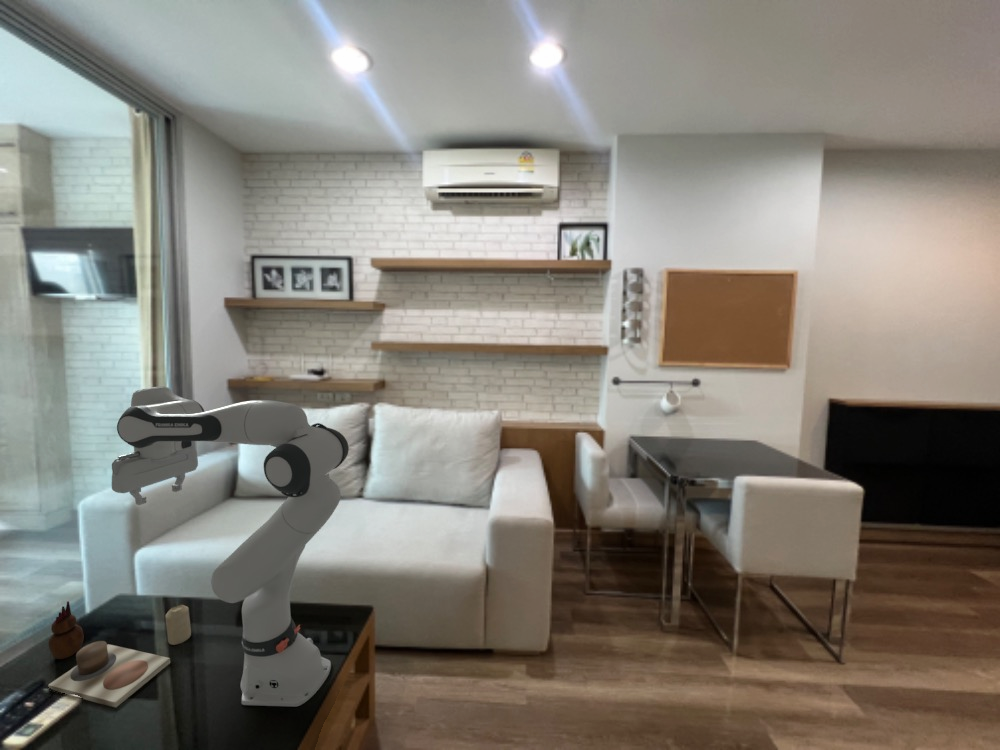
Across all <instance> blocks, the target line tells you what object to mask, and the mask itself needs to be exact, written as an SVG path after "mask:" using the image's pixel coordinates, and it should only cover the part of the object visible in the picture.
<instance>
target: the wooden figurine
mask: <svg viewBox="0 0 1000 750" xmlns="http://www.w3.org/2000/svg"><path fill="white" fill-rule="evenodd" d="M51 633H52V635H51V636H50V638H49V639H48V648H49V651H50V653H51V655H52V656H53V658H55V659H57V660H64V659H68V658H70V657H72V656H73V655H76V654H77V652H78V651H79V650H80V649H82V645H83V643H84V639H85V637H84V636H85V634H84V630H83V628H82V627H81V626H80V625H79V624H77V617H76V616H75V615H74V614H72V610H71V606H70V601H67V602H66V607H65V606H61V611H60V612H59V611H58V616H56V617H55V620H54V621H53V622H52V624H51Z"/></svg>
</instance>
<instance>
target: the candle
mask: <svg viewBox="0 0 1000 750" xmlns="http://www.w3.org/2000/svg"><path fill="white" fill-rule="evenodd" d="M164 617H165V626H166V634H167V641H168V644H169V645H171V646H173V645H174V646H175V645H180V644H182V643H184V642H185V641H187V640H188V639H190V637H191V636H192V630H191V618H190V609H189V606H188V605H187V606H186V605H184V604H179V605H177V606H173V607H171V608H170V609H169V610H168V611H167V613H165V616H164Z"/></svg>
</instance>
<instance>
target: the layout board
mask: <svg viewBox="0 0 1000 750" xmlns="http://www.w3.org/2000/svg"><path fill="white" fill-rule="evenodd" d="M75 657H76V658H75V660H76V665H75V666H73V667H72V668H71V669H70V670H68V671H67V672H65V673H63V674H62V675H61V676H59V677H57V678H56V679H54V680H53V681H52V682H50V683H49V684H47V688H48V687H49V688H51V689H53V690H55V691H58V692H61V693H60V694H62V693H65V694H64V695H66V694H75V695H78V696H80V697H82V698H83V699H82V700H86V701H89V702H93V703H96V704H100V705H105V706H108V707H112V708H118V706H120V705H121V704H122V703H123V702H125V701H126V700H128V698H130V697H131V696H132V695H133V694H135V693H136V692H137V691H138V690H139V689H141V688H142V687H143V686H144V685H145V684H147V683H148V682H149V681H150V680H152V679H153V678H154V677H155V676H157V675H158V674H159V673H160V672H161V671H162V670H163V669H165V668H166V667H167V666H168V665H170V664H171V658H170V657H167V656H162V655H157V654H154V653H149V652H144V651H140V650H136V649H132V648H127V647H123V646H118V645H114V644H109V643H108V644H107V642H106V641H105V640H98V641H94V642H91V643H89V644H86V645H85V646H83V647H81V648H80V650H79V651H77V652H76V653H75ZM49 688H48V689H49ZM55 691H54V692H55ZM58 692H57V693H58Z"/></svg>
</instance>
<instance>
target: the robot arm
mask: <svg viewBox="0 0 1000 750" xmlns="http://www.w3.org/2000/svg"><path fill="white" fill-rule="evenodd" d="M130 401H131V402H130V406H128V408H127V409H126V410H125V411H124V412H123V413H122V414H121V416H120V417H119V419H118V421H117V425H116V430H117V431H116V432H117V434H118V436H119V438H120V439H121V440H122V441H123V442H124V443H126V444H128V445H129V446H131V447H133V452H130V453H128V454H123V455H119V456H117V458H115V459H114V461H112V463H111V472H112V474H111V490H112V491H113V492H114V493H118V494H127V493H129V494H130V495H131V496H132V497H133V498H134V499H135V505H137V506H141V505H144V504H146V503H147V496H146V495H145V496H143V495H142V494H141V493H142V488H145V487H148V486H152V485H154V484H157V483H160V482H163V481H167V480H170V479H172V478H175V483H174V484H172V485H171V490H172V492H173V493H174V492H175V493H177V492H180V491H182V490H183V486H182V484H183V483H184V481H185V478H186V474H188V473H190V472H191V473H192V472H194V471H196V470H197V468H198V466H199V461H198V460H199V459H198V454H197V449H196V448H195V447H194V446H195V444H196V443H195V442H209V443H210V442H211V443H212V442H213V443H227V444H240V445H241V444H242V445H254V446H271V447H274V448H273V449H272V450H271V451H270V452H269V453H268V454H267V455H266V456H265V458H264V461H263V472H264V476H265V478H266V481H268V483H269V484H270V485H271V486H272V487H273V488H274V489H276V490H277V491H279V492H280V493H282V495H283V496H286V497H287V499H285V500H284V501H283V503H282V504H281V505H280V506H279V507H278V509H277V510H276V511H275V512H274V513H273V514H272V515H271V516H270V517H269V518H268V520H266V521H265V523H263V524H262V525H261V526H260V527H259V528H258V529H256V530H255V531H254V532H253V533H252V534H251V535H250V536H248V538H247V539H246V540H244V541H243V542H242V543H241V544H240V545H239V546H238V547H237V548H236V549H235V550H234V551H233V552H232V553H231V554H230V555H228V557H226V559H224V560H223V561H222V562H221V563H220V564H219V565H218V566H217V567H216V568H215V569H214V571H213V572H212V574H211V578H210V579H211V580H210V583H211V589H212V592H213V594H215V595H214V596H215V597H217V598H218V599H219V600H221V601H222V602H225V603H228V604H235V603H238V602H241V601H242V600H243V602H242V607H241V620H242V621H241V622H242V633H241V645H242V646H241V647H242V651H243V653H244V657H243V658H244V659H243V668H242V669H243V671H242V676H241V680H240V682H239V683H240V686H239V687H240V691H241V694H242V695H241V702H240V703H241V705H243V706H259V707H260V706H264V707H265V706H266V707H299V706H302V705H303V704H305V703H306V702H307V701H309V700H310V699H311V698H312V697H313V696H314V695H315V694H316V693H317V691H319V690H320V688H321V687H322V686H323V684H324V683H325V681H326V680H327V678H328V676H329V675H330V672H331V669H332V663H331V660H329V659H328V658H325V657H323V656H321V655H322V654H321V652H320V649H319V648H318V646H316V645H315V644H314V641H313V639H312V638H311V637H307V638H306V637H305V636H303V634H301V633H300V632H299V631H300V629H301V627H300V626H301V624H298V625H296V623H295V622H294V619H293V618H292V616H291V589H292V585H293V584H292V583H293V579H294V575H295V571H296V569H297V565H298V562H299V560H300V557H301V555H302V553H303V551H304V549H305V548H306V545H307V544H308V543H309V542H310V540H312V539H313V537H314V536H316V534H317V533H318V532H319V531H320V530H321V529H322V528H323V527H324V526H325V524H326V523H328V522H327V521H329V520H330V518H331V516H332V515H333V514H334V512H335V510H336V509H337V507H338V506H339V503H340V501H341V496H342V495H341V490H340V487H339V485H338V483H336V482H335V481H334V480H333V479H331V478H330V474H329V473H330V472H331V471H332V470H335V469H337V468H338V467H339V466H341V464H343V462H344V461H345V460H346V459H347V457H348V455H349V452H350V451H349V443H348V440H347V438H346V437H345V436H344V435H343V434H342V433H341V432H340V431H338V430H337V429H334V428H330V427H327V426H326V425H324V424H323V423H319V422H316V423H314V424H312V425H310V423H309V422H308V417H307V414H306V412H305V410H304V409H303V408H301V407H300V406H298V405H296V404H293V403H289V402H285V401H279V400H271V399H269V400H268V399H252V400H246V401H241V402H240V401H239V402H236V403H231V404H228V405H225V406H221V407H218V408H214V409H210V410H209V409H208V410H206V411H205V409H204V407H203V406H202V404H200V403H199V402H198V401H196V400H193V399H187V398H184V397H181V396H179V395H177V394H175V393H174V392H173V391H172V390H171V389H170V387H167V386H153V387H145V388H141V389H138V390H135V391H134V392H132V396H131V400H130Z"/></svg>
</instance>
